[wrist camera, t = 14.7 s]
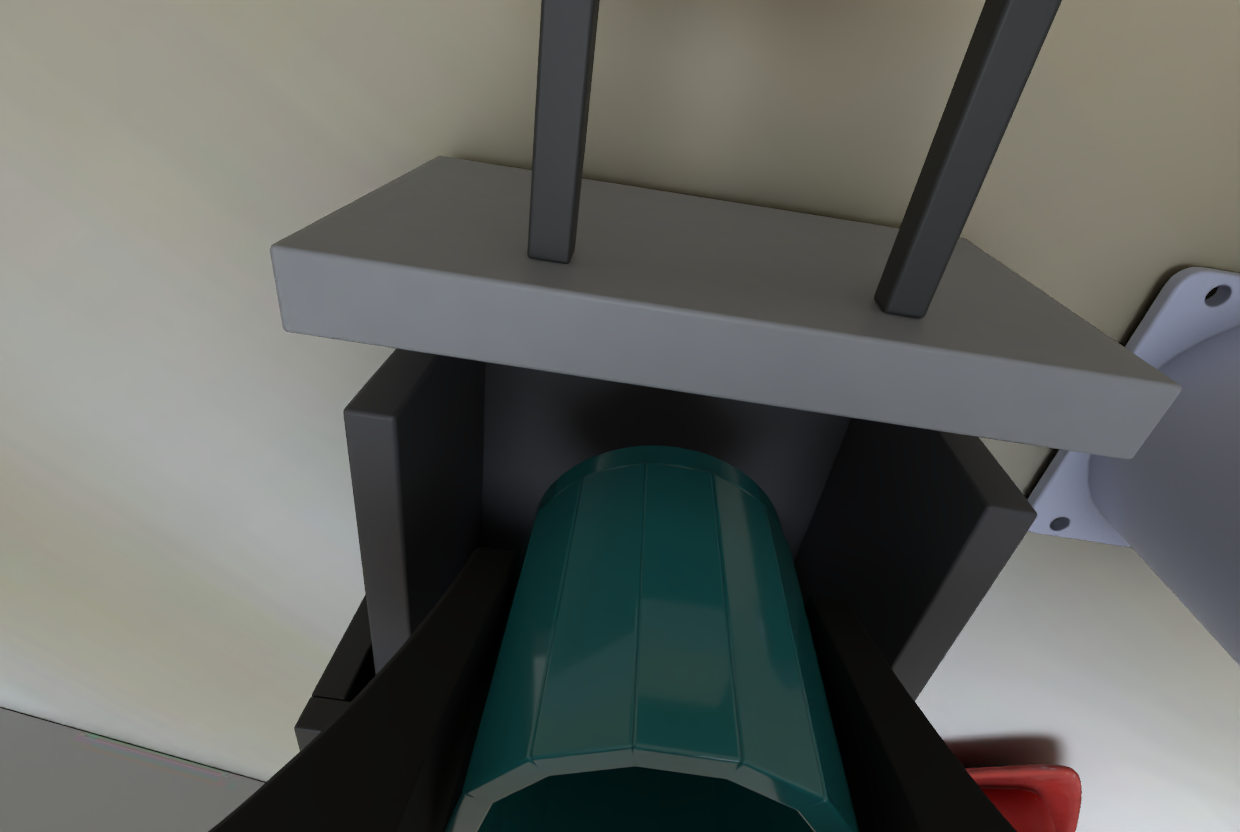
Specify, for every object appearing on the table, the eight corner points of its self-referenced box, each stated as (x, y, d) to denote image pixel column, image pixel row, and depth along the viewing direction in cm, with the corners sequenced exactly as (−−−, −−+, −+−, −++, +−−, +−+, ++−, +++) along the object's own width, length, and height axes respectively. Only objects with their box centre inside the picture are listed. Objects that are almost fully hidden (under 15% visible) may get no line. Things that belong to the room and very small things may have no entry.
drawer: (431, -177, 10) (150, -430, 5) (1101, -65, 11) (1597, -177, 5) (446, 583, 20) (361, 796, 15) (792, 634, 21) (841, 863, 15)
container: (750, 646, 14) (794, 965, 9) (521, 612, 13) (444, 919, 9) (819, 467, 11) (935, 789, 6) (535, 424, 11) (438, 719, 6)
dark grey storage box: (433, 466, 19) (292, 728, 12) (845, 527, 19) (951, 821, 12) (442, 730, 26) (359, 986, 19) (736, 772, 27) (761, 1040, 20)
